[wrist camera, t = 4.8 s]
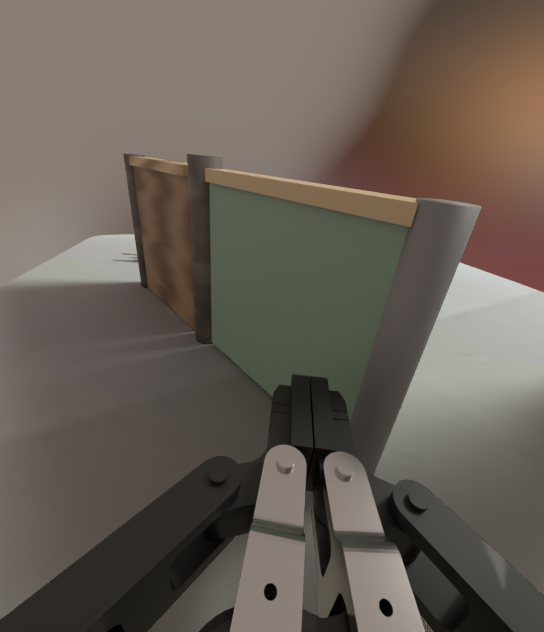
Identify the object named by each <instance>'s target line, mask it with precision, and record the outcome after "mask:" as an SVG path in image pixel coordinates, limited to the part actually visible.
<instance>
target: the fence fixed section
mask: <svg viewBox="0 0 544 632" xmlns="http://www.w3.org/2000/svg"><path fill="white" fill-rule="evenodd" d="M124 161H125V169H126V176H127V182H128V190H129V198H130V205H131V212H132V219H133V226H134V234H135V241H136V248H137V256H138V263H139V270H140V278H141V285H142V286H143V287H148V288H149V289H150V290H151V291H152V292H153V293H154V294H155V295H156V296H157V297H159V298H160V299H161V300H162V301H163V302H164V303H165V304H166V305H167V306H168V307H169V308H170V309H172V310H173V311H174V312H175V313H176V314H177V315H178V316H179V317H180V318H181V319H182V320H183V321H185V322H186V323H187V324H188V325H189V326H190V327H191V328H192V329H193V330H194V331H195V333H196V340H197V341H198V342H200V343H204V344H212V318H211V255H210V192H209V182H205V168H209V169H222V157H213V156H202V155H190V154H187V163H182V162H175V161H169V160H163V159H156V158H149V157H145V156H144V155H134V154H133V155H132V154H124Z"/></svg>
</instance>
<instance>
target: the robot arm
mask: <svg viewBox="0 0 544 632" xmlns="http://www.w3.org/2000/svg"><path fill="white" fill-rule="evenodd" d="M305 490H307V491H313V506H312V510H311V519H312V528H313V537H314V547H315V556H316V565H317V574H318V596H317V605H318V616H316V615H314V614H312V613H310V612H308V611H306V610H304V609H302V604H303V582H304V559H305V534H304V531H303V527H304V507H305ZM248 532H249V536H248V541H247V547H246V552H245V557H244V562H243V567H242V572H241V577H240V582H239V587H238V592H237V597H236V602H235V607H233V608H230V609H228V610H226V611H224V612H222V613H220V614H219V615H217V616H216V617H214V618H213V619H212V620H211V621H209V622H208V623H207V624H206V625H205V626H204V627H203V628H202V629H201V630H200V631H199V632H425V629H424V626H423V623H422V620H421V617H420V614H421V615H422V617H423V618H424V619H425V620H426V622H427V623H428V624H429V626H430V627H431V628H432V629H433V631H434V632H544V595H543V594H541V593H540V592H539V591H538V590H537V589H536V588H535V587H534V586H533V585H532V584H531V583H530V582H528V581H527V580H526V579H525V578H524V577H523V576H522V575H521V574H520V573H519V572H518V571H517V570H515V569H514V568H513V567H512V566H511V565H510V564H509V563H508V562H507V561H506V560H505V559H503V558H502V557H501V556H500V555H499V554H498V553H497V552H496V551H495V550H494V549H493V548H492V547H490V546H489V545H488V544H487V543H486V542H485V541H484V540H483V539H482V538H481V537H480V536H479V535H477V534H476V533H475V532H474V531H473V530H472V529H471V528H470V527H469V526H468V525H467V524H465V523H464V522H463V521H462V520H461V519H460V518H459V517H458V516H457V515H456V514H455V513H454V512H452V511H451V510H450V509H449V508H448V507H447V506H446V505H445V504H444V503H443V502H442V501H441V500H439V499H438V498H437V497H436V496H435V495H434V494H433V493H432V492H431V491H430V490H428V489H427V488H426V487H425V486H423V485H422V484H420V483H418V482H415V481H411V480H402V481H399V482H398V483H397V484H396V485H392V484H390V483H388V482H385V481H383V480H381V479H379V478H377V477H375V476H373V475H371V474H370V473H369V472H367V471H366V470H365V469H364V467H363V465H362V464H361V462H360V461H359V460H358V458H357V456H356V451H355V446H354V442H353V437H352V432H351V427H350V422H349V417H348V413H347V407H346V402H345V400H344V398H343V397H342V396H341V394H340V393H339V391H331V390H329V386H328V379H327V378H324V377H315V376H310V377H309V376H306V375H297V374H292V377H291V384H290V386H287V385H279V386H278V387H277V388H276V390H275V391H274V393H273V401H272V409H271V418H270V428H269V438H268V447H267V449H266V451H265V453H264V454H263V455H262V456H261V457H260V458H258V459H257V460H254V461H252V462H248V463H243V464H237V463H236V462H235V461H234V460H233V459H231V458H229V457H225V456H216V457H212V458H210V459H208V460H207V461H205V462H204V463H202V464H201V465H200V466H199V467H197V468H196V469H195V470H193V471H192V472H191V473H190V474H188V475H187V476H186V477H184V478H183V479H182V480H180V481H179V482H178V483H177V484H175V485H174V486H173V487H171V488H170V489H169V490H168V491H166V492H165V493H164V494H162V495H161V496H160V497H159V498H157V499H156V500H155V501H153V502H152V503H151V504H149V505H148V506H147V507H146V508H144V509H143V510H142V511H140V512H139V513H138V514H137V515H135V516H134V517H133V518H131V519H130V520H129V521H128V522H126V523H125V524H124V525H122V526H121V527H120V528H118V529H117V530H116V531H115V532H113V533H112V534H111V535H109V536H108V537H107V538H106V539H104V540H103V541H102V542H100V543H99V544H98V545H96V546H95V547H94V548H93V549H91V550H90V551H89V552H87V553H86V554H85V555H84V556H82V557H81V558H80V559H78V560H77V561H76V562H75V563H73V564H72V565H71V566H69V567H68V568H67V569H65V570H64V571H63V572H62V573H60V574H59V575H58V576H56V577H55V578H54V579H53V580H51V581H50V582H49V583H47V584H46V585H45V586H44V587H42V588H41V589H40V590H38V591H37V592H36V593H34V594H33V595H32V596H31V597H29V598H28V599H27V600H25V601H24V602H23V603H22V604H20V605H19V606H18V607H16V608H15V609H14V610H13V611H11V612H10V613H9V614H7V615H6V616H5V617H3V618H2V619H1V620H0V632H147V631H148V630H149V629H150V628H151V627H152V626H153V625H154V624H155V623H156V621H157V620H158V619H159V618H160V617H161V616H162V615H163V614H164V613H165V612H166V611H167V610H168V609H169V607H170V606H171V605H172V604H173V603H174V602H175V601H176V600H177V599H178V598H179V597H180V596H181V595H182V593H183V592H184V591H185V590H186V589H187V588H188V587H189V586H190V585H191V584H192V583H193V582H194V581H195V579H196V578H197V577H198V576H199V575H200V574H201V573H202V572H203V571H204V570H205V569H206V568H207V567H208V565H209V564H210V563H211V562H212V561H213V560H214V559H215V558H216V557H217V556H218V555H219V554H220V553H221V551H222V550H223V549H224V548H225V547H226V546H227V545H228V544H229V543H230V542H231V541H232V540H233V538H234V537H235V536H237V535H241V534H244V533H248ZM419 613H420V614H419Z"/></svg>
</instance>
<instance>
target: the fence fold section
mask: <svg viewBox="0 0 544 632" xmlns="http://www.w3.org/2000/svg"><path fill="white" fill-rule="evenodd" d="M205 182H209V192H210V255H211V318H212V343H213V344H214V345H216V346H217V347H218V348H219V349H220V350H221V351H222V352H223V353H224V354H226V355H227V356H228V357H229V358H230V359H231V360H232V361H233V362H234V363H236V364H237V365H238V366H239V367H240V368H241V369H242V370H243V371H244V372H245V373H247V374H248V375H249V376H250V377H251V378H252V379H253V380H254V381H255V382H257V383H258V384H259V385H260V386H261V387H262V388H263V389H264V390H265V391H266V392H268V393H269V394H270V395H271V396H272V397H273V393H274V391H275V390H276V388H277V387H278V386H279V385H287V386H290V384H291V377H292V374H297V375H306V376H309V377H310V376H315V377H324V378H327V379H328V386H329V390H331V391H339V393H340V394H341V396H342V397H343V398H344V400H345V402H346V407H347V413H348V417H349V422H350V427H351V432H352V437H353V442H354V446H355V451H356V456H357V458H358V460H359V461H360V462H361V464H362V465H363V467H364V469H365V470H366V471H367V472H369V473H370V474H371V475H373V474H374V472H375V470H376V467H377V465H378V462H379V460H380V457H381V455H382V452H383V450H384V447H385V445H386V443H387V440H388V438H389V435H390V433H391V430H392V428H393V425H394V423H395V420H396V418H397V415H398V413H399V410H400V408H401V405H402V403H403V400H404V398H405V395H406V393H407V390H408V388H409V385H410V383H411V381H412V378H413V376H414V373H415V371H416V368H417V366H418V363H419V361H420V358H421V356H422V353H423V351H424V348H425V346H426V343H427V341H428V338H429V336H430V333H431V331H432V328H433V326H434V324H435V321H436V319H437V316H438V314H439V311H440V309H441V306H442V304H443V301H444V299H445V296H446V294H447V291H448V289H449V286H450V284H451V281H452V279H453V276H454V274H455V271H456V269H457V266H458V264H459V262H460V259H461V256H462V254H463V252H464V249H465V247H466V244H467V242H468V239H469V237H470V234H471V232H472V229H473V227H474V224H475V222H476V219H477V217H478V214H479V212H480V209H481V206H478V205H474V204H468V203H463V202H456V201H447V200H439V199H429V198H417V199H415V198H409V197H402V196H395V195H389V194H383V193H376V192H369V191H363V190H357V189H350V188H344V187H337V186H331V185H324V184H318V183H312V182H305V181H298V180H292V179H285V178H279V177H273V176H266V175H260V174H253V173H247V172H240V171H234V170H226V169H209V168H205Z"/></svg>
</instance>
